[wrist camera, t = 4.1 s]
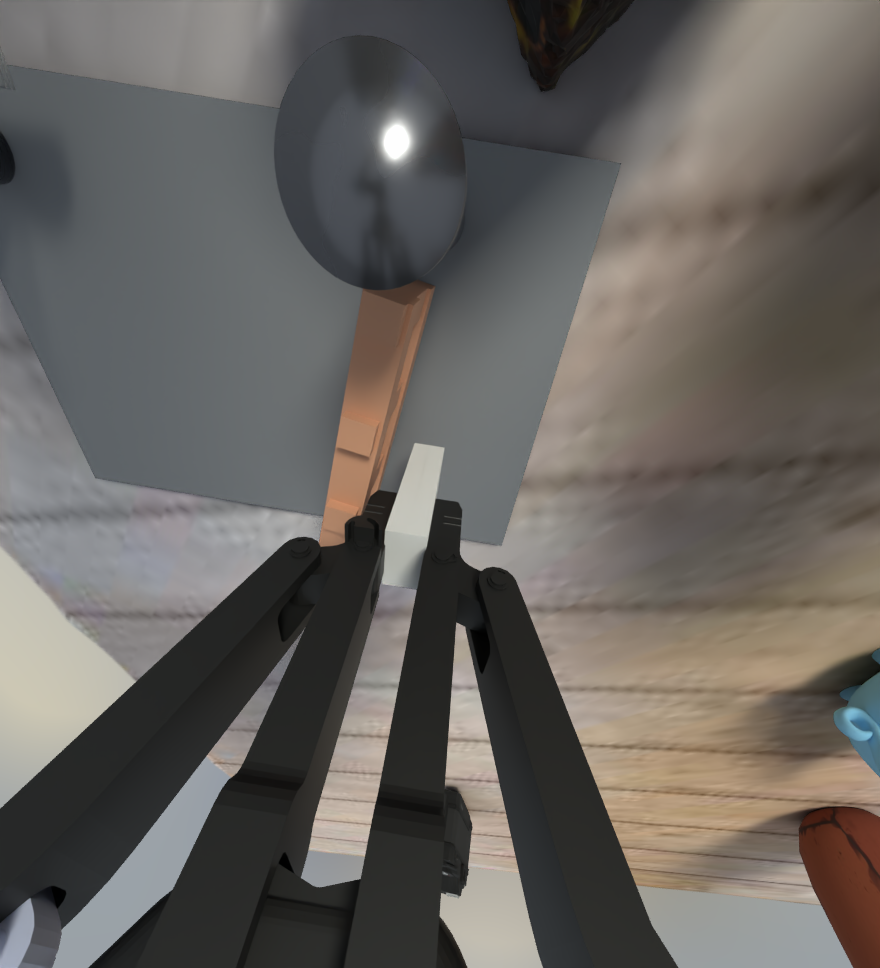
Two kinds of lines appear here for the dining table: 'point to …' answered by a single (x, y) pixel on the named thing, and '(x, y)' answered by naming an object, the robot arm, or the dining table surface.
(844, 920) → the potted plant
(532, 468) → the dining table surface
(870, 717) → the teapot
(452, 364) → the mat
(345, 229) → the glossy grey waisted cylinder
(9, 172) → the latch post
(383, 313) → the gate
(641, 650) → the dining table surface
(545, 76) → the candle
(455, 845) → the film camera
